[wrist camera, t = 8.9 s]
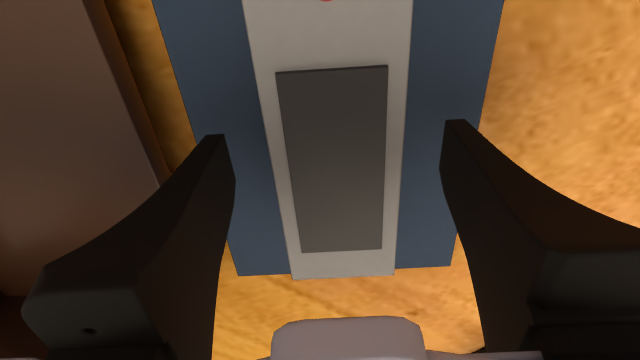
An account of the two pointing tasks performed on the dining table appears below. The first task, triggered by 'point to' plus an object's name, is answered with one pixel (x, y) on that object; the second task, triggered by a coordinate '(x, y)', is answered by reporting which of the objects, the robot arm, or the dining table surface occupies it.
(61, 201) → the dark wooden tray
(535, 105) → the dining table surface
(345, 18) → the remote
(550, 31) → the dining table surface
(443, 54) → the desk mat
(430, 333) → the dining table surface
